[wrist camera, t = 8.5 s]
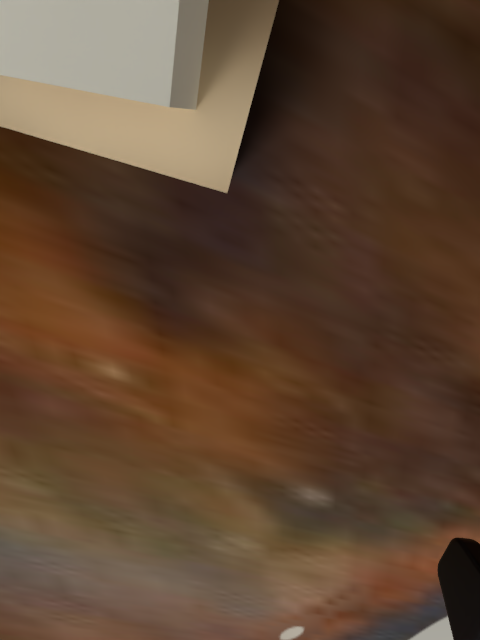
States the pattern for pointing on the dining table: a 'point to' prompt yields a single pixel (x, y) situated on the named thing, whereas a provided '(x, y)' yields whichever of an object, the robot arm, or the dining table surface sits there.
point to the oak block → (159, 121)
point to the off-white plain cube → (107, 46)
